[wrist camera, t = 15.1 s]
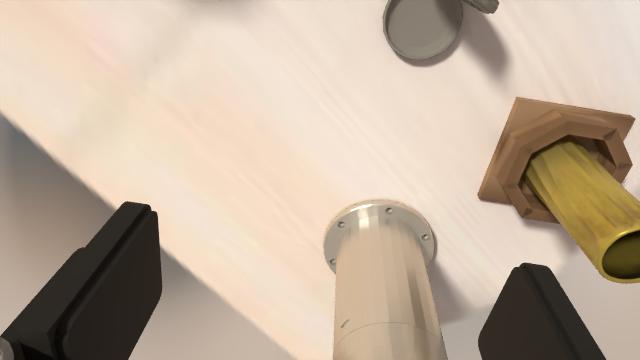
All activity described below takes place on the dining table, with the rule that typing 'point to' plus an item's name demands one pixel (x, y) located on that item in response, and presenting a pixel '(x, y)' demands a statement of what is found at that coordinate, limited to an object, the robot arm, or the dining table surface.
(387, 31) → the pocket watch
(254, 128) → the dining table surface
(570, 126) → the collar
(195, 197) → the dining table surface
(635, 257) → the vase
